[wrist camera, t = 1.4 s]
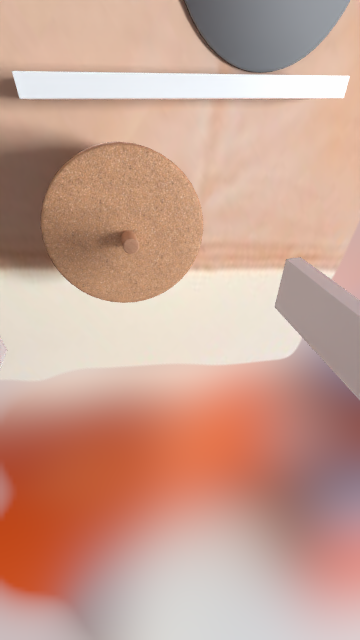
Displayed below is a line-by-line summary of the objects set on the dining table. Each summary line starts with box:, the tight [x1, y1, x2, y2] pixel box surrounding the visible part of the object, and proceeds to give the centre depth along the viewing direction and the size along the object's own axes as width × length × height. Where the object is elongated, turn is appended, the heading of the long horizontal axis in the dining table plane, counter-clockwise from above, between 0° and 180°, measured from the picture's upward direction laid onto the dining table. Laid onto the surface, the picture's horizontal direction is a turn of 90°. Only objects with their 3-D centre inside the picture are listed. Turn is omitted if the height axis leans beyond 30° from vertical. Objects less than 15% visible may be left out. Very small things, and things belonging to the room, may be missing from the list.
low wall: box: [12, 71, 350, 100], centre depth 19 cm, size 22×1×4 cm, turn 90°
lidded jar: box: [41, 142, 203, 303], centre depth 21 cm, size 11×11×9 cm
